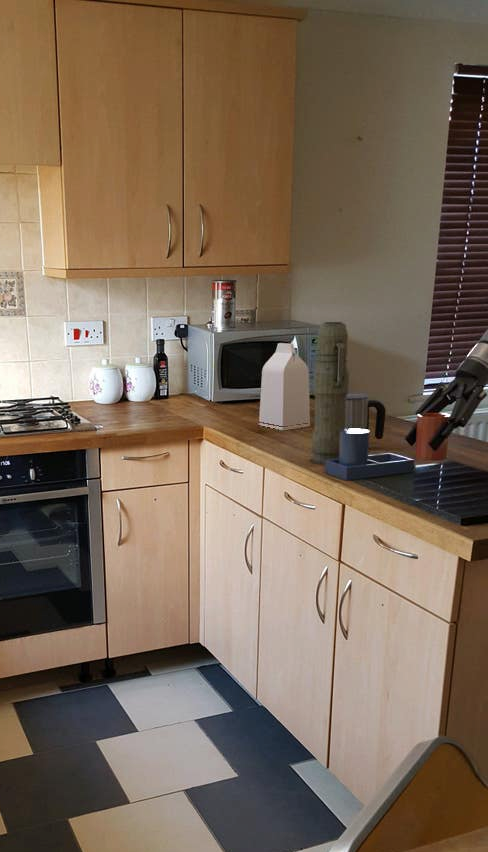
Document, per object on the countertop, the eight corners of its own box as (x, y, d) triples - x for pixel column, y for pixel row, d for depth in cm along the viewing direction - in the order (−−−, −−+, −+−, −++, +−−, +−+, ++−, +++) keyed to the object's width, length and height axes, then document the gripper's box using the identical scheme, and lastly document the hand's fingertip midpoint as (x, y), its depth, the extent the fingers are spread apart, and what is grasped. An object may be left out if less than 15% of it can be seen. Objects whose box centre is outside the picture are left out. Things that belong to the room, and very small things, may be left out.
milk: (258, 425, 286) (259, 344, 278) (285, 422, 292) (287, 341, 284) (282, 430, 277) (283, 345, 268) (310, 426, 282) (312, 343, 274)
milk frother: (345, 453, 238) (347, 398, 234) (315, 444, 252) (316, 392, 247) (389, 448, 243) (392, 394, 238) (357, 440, 257) (359, 388, 252)
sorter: (413, 472, 214) (414, 459, 213) (346, 480, 208) (346, 467, 207) (389, 464, 223) (390, 452, 222) (324, 472, 216) (324, 460, 215)
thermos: (331, 455, 237) (335, 320, 225) (355, 463, 226) (361, 322, 215) (302, 458, 234) (305, 322, 222) (325, 466, 223) (329, 324, 212)
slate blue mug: (373, 473, 212) (375, 431, 208) (348, 476, 209) (350, 434, 206) (357, 467, 218) (358, 427, 215) (332, 470, 215) (334, 430, 212)
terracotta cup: (452, 459, 203) (456, 415, 200) (427, 462, 200) (430, 418, 197) (433, 454, 209) (436, 412, 206) (409, 456, 207) (411, 414, 203)
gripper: (519, 382, 197) (459, 461, 195) (454, 375, 214) (399, 448, 213) (504, 359, 193) (443, 440, 192) (439, 354, 210) (383, 428, 209)
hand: (420, 444), depth 202 cm, fingers closed on terracotta cup, 7 cm apart
